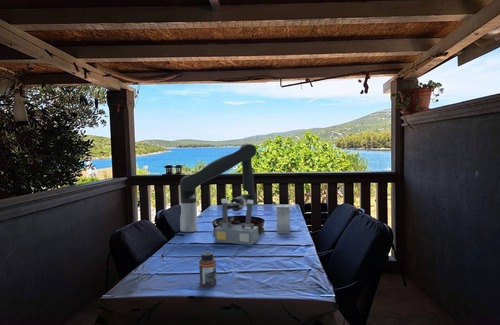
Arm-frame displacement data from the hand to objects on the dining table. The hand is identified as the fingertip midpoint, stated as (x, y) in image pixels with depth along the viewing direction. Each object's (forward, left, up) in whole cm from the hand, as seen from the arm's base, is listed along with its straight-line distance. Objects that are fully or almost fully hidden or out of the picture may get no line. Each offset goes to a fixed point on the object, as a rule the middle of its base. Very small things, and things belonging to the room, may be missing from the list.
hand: (225, 208), depth 170 cm
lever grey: (+13, -1, -8) cm, 15 cm away
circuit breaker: (+24, +28, -17) cm, 41 cm away
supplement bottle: (+19, -54, -17) cm, 59 cm away
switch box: (+6, -1, -17) cm, 18 cm away
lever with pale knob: (0, -1, -8) cm, 8 cm away
